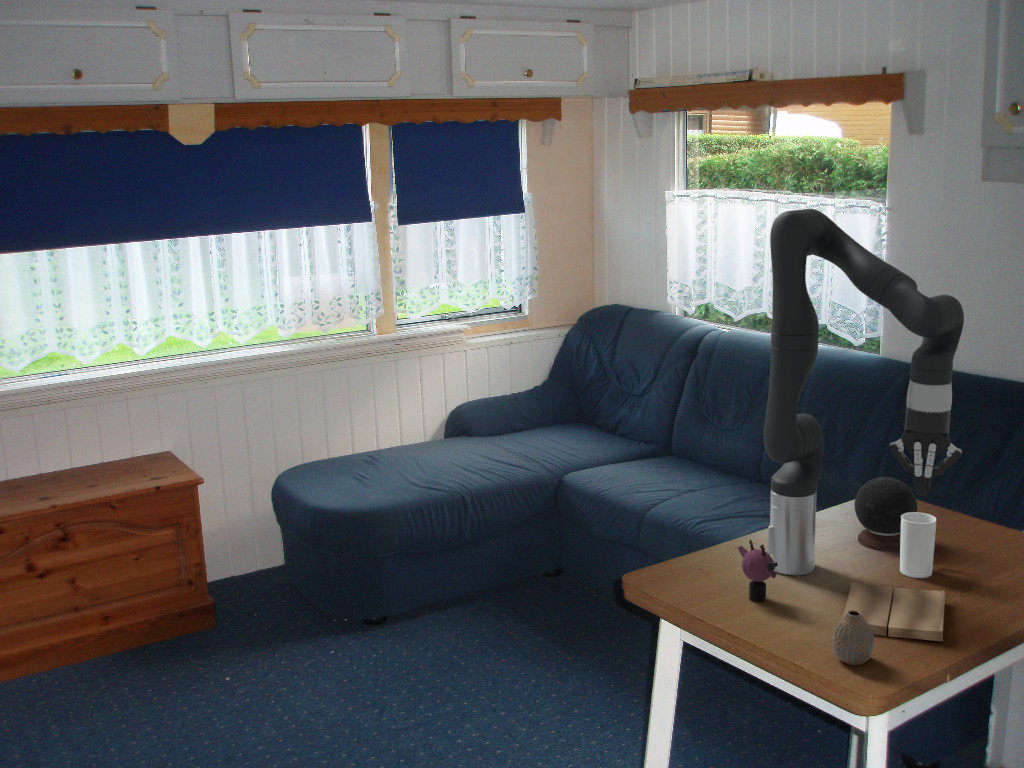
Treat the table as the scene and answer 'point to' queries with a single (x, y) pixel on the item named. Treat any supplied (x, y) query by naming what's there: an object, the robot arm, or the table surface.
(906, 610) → the board
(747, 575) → the figurine
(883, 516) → the black sphere on base
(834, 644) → the vase
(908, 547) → the mug
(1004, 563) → the table surface
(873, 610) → the fixed plank
